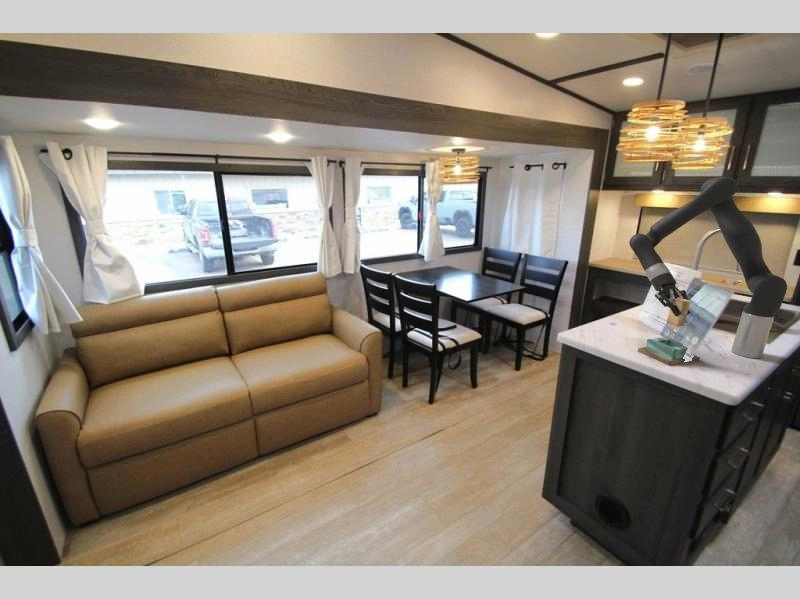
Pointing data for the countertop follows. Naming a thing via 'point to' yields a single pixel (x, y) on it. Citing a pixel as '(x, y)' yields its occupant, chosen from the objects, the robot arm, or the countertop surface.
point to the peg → (683, 307)
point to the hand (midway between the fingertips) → (683, 314)
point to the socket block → (666, 350)
